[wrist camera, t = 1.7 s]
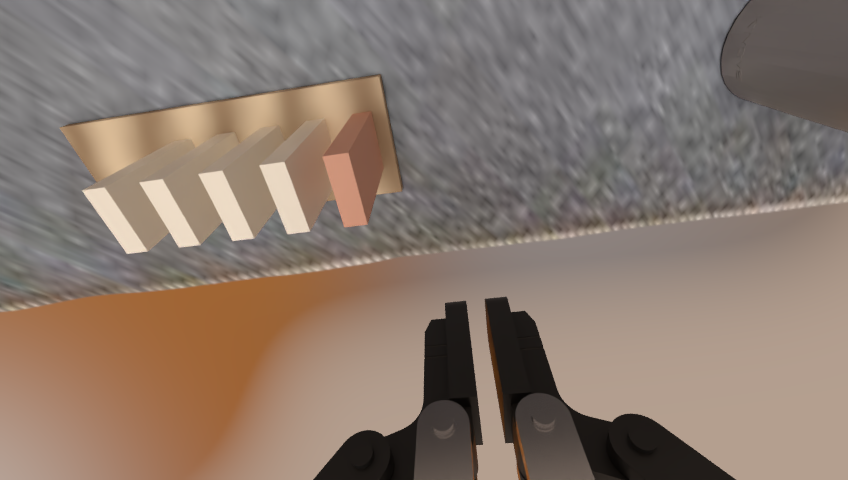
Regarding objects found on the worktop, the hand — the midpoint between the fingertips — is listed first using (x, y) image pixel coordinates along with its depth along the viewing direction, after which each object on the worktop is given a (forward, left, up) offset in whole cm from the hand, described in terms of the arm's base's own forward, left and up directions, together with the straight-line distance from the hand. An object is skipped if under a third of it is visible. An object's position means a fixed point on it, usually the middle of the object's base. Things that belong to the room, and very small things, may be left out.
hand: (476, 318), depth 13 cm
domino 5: (+7, 0, -22) cm, 23 cm away
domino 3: (+15, 0, -22) cm, 27 cm away
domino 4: (+11, 0, -22) cm, 25 cm away
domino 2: (+19, 0, -22) cm, 29 cm away
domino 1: (+23, 0, -22) cm, 32 cm away
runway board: (+19, 0, -23) cm, 30 cm away
